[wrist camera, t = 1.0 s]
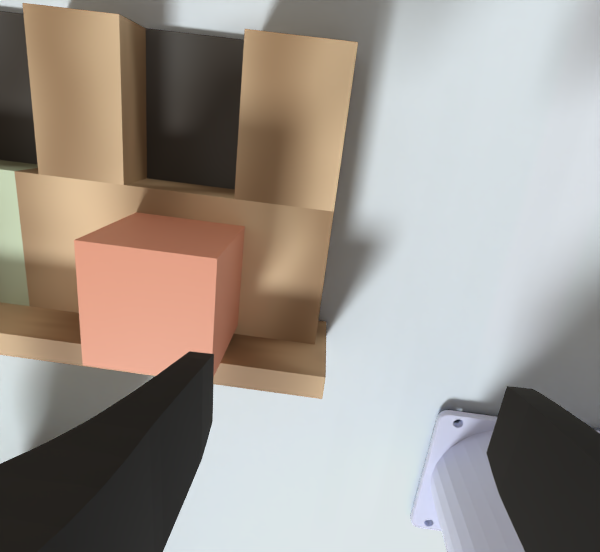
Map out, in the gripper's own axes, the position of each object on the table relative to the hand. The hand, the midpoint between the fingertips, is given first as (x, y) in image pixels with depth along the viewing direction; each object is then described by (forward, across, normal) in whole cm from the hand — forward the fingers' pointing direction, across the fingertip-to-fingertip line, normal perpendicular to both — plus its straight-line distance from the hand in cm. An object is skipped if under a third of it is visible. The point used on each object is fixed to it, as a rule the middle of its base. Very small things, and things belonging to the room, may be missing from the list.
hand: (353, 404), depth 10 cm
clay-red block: (+8, +6, 0) cm, 10 cm away
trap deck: (+11, +10, -3) cm, 15 cm away
